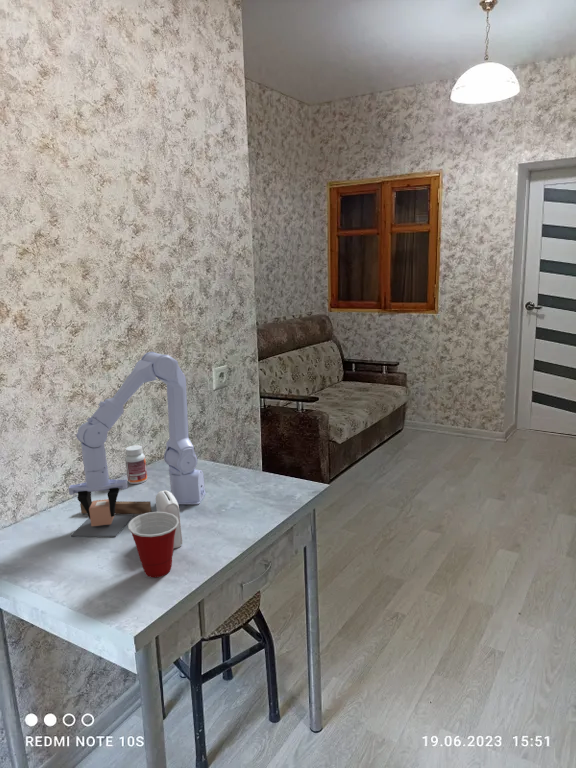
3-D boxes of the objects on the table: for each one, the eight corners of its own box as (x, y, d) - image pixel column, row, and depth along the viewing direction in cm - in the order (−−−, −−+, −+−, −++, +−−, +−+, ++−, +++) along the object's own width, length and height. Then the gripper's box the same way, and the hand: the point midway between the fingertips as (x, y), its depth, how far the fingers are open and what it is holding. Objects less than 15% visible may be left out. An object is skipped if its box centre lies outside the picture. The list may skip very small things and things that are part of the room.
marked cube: (114, 515, 146) (112, 498, 145) (111, 524, 141) (108, 506, 140) (95, 517, 145) (92, 500, 144) (91, 526, 141) (88, 508, 140)
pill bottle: (151, 480, 174) (147, 447, 171) (133, 486, 170) (129, 452, 167) (141, 475, 178) (137, 443, 176) (124, 481, 174) (120, 448, 172)
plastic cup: (169, 587, 114) (163, 535, 111) (124, 581, 117) (117, 530, 114) (191, 560, 124) (187, 512, 121) (149, 555, 127) (144, 508, 124)
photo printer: (157, 533, 138) (152, 488, 135) (174, 529, 139) (169, 484, 137) (167, 551, 129) (162, 503, 126) (184, 546, 130) (180, 499, 128)
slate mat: (133, 515, 149) (133, 514, 148) (115, 537, 137) (115, 535, 137) (92, 515, 150) (92, 514, 150) (70, 536, 138) (70, 535, 138)
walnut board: (151, 511, 151) (150, 501, 150) (149, 513, 149) (148, 503, 149) (84, 511, 153) (82, 501, 153) (81, 513, 152) (80, 503, 151)
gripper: (126, 459, 145) (132, 506, 148) (70, 465, 143) (77, 512, 146) (122, 469, 138) (128, 518, 141) (63, 474, 136) (71, 524, 139)
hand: (102, 516), depth 143 cm, fingers closed on marked cube, 5 cm apart
